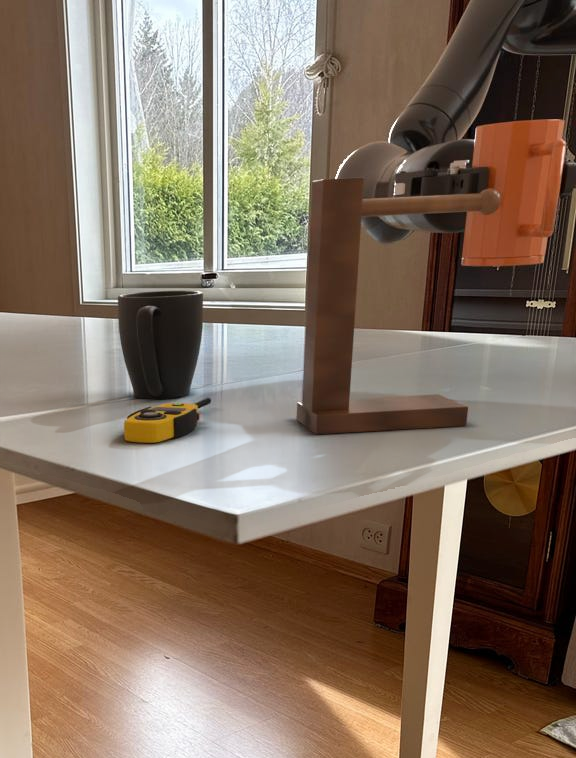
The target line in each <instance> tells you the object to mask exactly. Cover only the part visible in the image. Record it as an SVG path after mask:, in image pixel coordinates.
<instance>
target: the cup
mask: <svg viewBox="0 0 576 758" xmlns="http://www.w3.org/2000/svg"><path fill="white" fill-rule="evenodd" d="M565 121H566V120H565V119H560V118H559V119H557V118H556V119H550V118H549V119H531V120H530V119H528V120H516V121H507V122H506V121H504V122H497V123H488V124H483V125H478V126H476V128H475V135H474V140H475V144H474V153H473V162H472V168H474V167H488V170H489V174H488V182H487V189H488V188H493V189H496V190H497V191H498V192H499V193H500V195H501V204H500V206H499V208H498V209H497V210H496V211H495V212H494V213H492V214H489V215H483V214H480V213H479V212H478V211H469V212H467V216H466V225H465V231H464V235H463V244H462V254H461V262H460V265H461V266H462V267H463V266H465V267H511V266H512V267H513V266H530V265H539V264H540V265H541V264H543V263H544V261H545V255H546V251H547V243H548V238H549V237H551V236H552V235H553V234H554V230H555V224H556V217H557V210H558V205H559V198H560V197H559V191H560V184H561V177H562V170H563V164H564V163H565V156H566V149H567V142H566V141H565V140H564V139H563V135H564V127H565Z"/></svg>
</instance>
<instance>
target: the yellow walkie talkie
mask: <svg viewBox="0 0 576 758" xmlns="http://www.w3.org/2000/svg"><path fill="white" fill-rule="evenodd" d="M211 402H212V398H210V397H206V398H204V399H201V400H199V401H197V402H194V403H188V402H187V403H186V402H168V403H163V404H159V405H154V406H148V407H145V408H142V409H139V410H136V411H134V412H132V413H130V414H129V415H128V416H127V417H126V419H125V420H124V422H123V435H124V440H125V441H127V442H130V443H131V442H132V443H141V444H142V443H145V444H153V443H154V444H155V443H160V442H164V441H167V440H169V439H177V438H180V437H182V436H186V434H190V433H191V432H192V431H194V430H195V429H196V428H197V426H198V422H199V420H200V417H201V416H200V412H199V409H201V408H203V407H205V406H206V407H207V406H208V405H210V404H211Z"/></svg>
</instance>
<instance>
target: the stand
mask: <svg viewBox="0 0 576 758" xmlns="http://www.w3.org/2000/svg"><path fill="white" fill-rule="evenodd" d="M363 188H364V177H358V178H337V179H336V178H323V179H317V180H313V181H312V182H311V198H310V199H311V200H310V223H309V225H310V226H309V241H308V242H309V243H308V244H309V245H308V266H307V287H306V306H305V307H306V310H305V330H304V331H305V333H304V353H303V374H302V376H303V377H302V394H301V395H302V399H301V401H298V402H297V403H296V421H297V422H298V423H300V424H301V425H302V426H304V427H305V428H307V429H308V430H309V431H311V432H312V433H313V434H314V435H329V434H331V435H333V434H346V433H347V434H348V433H365V432H379V431H380V432H381V431H396V430H397V431H398V430H399V431H400V430H414V429H415V430H416V429H432V428H434V429H435V428H448V427H449V428H451V427H467V422H468V414H469V406H468V405H465V404H463V403H460V402H458V401H455V400H453V399H450V398H448V397H445V396H443V395H441V394H438V393H437V394H436V393H435V394H421V395H419V394H418V395H402V396H400V395H399V396H385V397H367V398H351V384H352V368H353V355H354V354H353V352H354V338H355V324H356V322H355V321H356V307H357V294H358V293H357V291H358V277H359V261H360V247H361V246H360V245H361V234H362V233H361V232H362V226H361V218H362V217H370V216H389V215H409V214H429V213H449V212H469V211H478V212H479V213H480V214H483V215H489V214H492V213H494V212H495V211H496V210H497V209H498V208H499V206H500V204H501V195H500V193H499V192H498V191H497V190H496V189H493V188H488V189H485V190H483V191H482V192H480V193H475V194H455V195H435V196H415V197H395V198H375V199H363ZM350 398H351V399H350Z"/></svg>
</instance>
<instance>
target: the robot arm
mask: <svg viewBox="0 0 576 758" xmlns="http://www.w3.org/2000/svg"><path fill="white" fill-rule="evenodd" d="M502 49H503V50H505V51H507V52H508V53H512V54H516V55H524V56H576V0H469V2H468V4H467V6H466V8H465V11H464V12H463V14H462V15H461V18H460V20H459V22H458V24H457V25H456V27H455V30H454V32H453V33H452V35H451V37H450V39H449V41H448V43H447V45H446V47H445V49H444V51H443V52H442V54H441V56H440V58H439V59H438V61H437V62H436V65H435V66H434V68H433V69H432V71H431V72H430V73H429V75H428V77H427V78H426V79H425V81H424V82H423V83H422V84H421V86H420V87H419V89H418V90H417V92H416V93H415V94H414V95H413V97H412V98H411V100H410V101H409V103H408V104H407V105H406V106H405V108H404V109H403V110H402V112H401V113H400V115H399V116H398V117H397V119H396V120H395V121H394V123H393V125H392V127H391V129H390V132H389V137H388V141H385V140H378V141H372V142H369V143H367V144H365V145H362V146H361V147H359V148H357V149H355V150H354V151H353V152H352V153H351V154H350V155H348V156H347V158H346V159H344V160H343V163H342V164H340V166H339V169H338V171H337V174H336V176H335V179H337V178H358V177H364V188H363V199H375V198H395V197H415V196H435V195H455V194H475V193H480V192H482V191H483V190H485V189H487V182H488V174H489V170H488V167H474V168H472V162H473V153H474V144H475V139H471V138H463V137H464V136H465V134H466V133H467V131H468V130H469V128H470V127H471V126H472V124H473V122H474V121H475V119H476V118H477V116H478V114H479V112H480V111H481V109H482V106H483V104H484V101H485V99H486V96H487V94H488V92H489V88H490V85H491V84H492V83H491V82H492V80H493V77H494V73H495V70H496V67H497V64H498V60H499V58H500V55H501V52H502ZM574 189H576V162H573V161H572V160H569V161H567V160H566V161H564V164H563V170H562V177H561V184H560V191H559V197H558V200H559V199H567V197H572V193H573V191H574ZM466 216H467V212H449V213H429V214H409V215H389V216H370V217H362V218H361V228H363V229H364V231H365V232H366V233H367V234H368V235H369V236H370V237H371V238H372V239H373V240H374V241H376V242H377V243H378V244H380V245H384V246H385V245H387V246H389V245H395V244H397V243H399V242H402V241H404V240H405V239H407V238H408V237H410V236H411V235H412V234H413V233H414V232H419V233H428V234H429V233H430V234H431V233H434V234H435V233H436V234H457V233H463V232H465V225H466Z"/></svg>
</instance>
